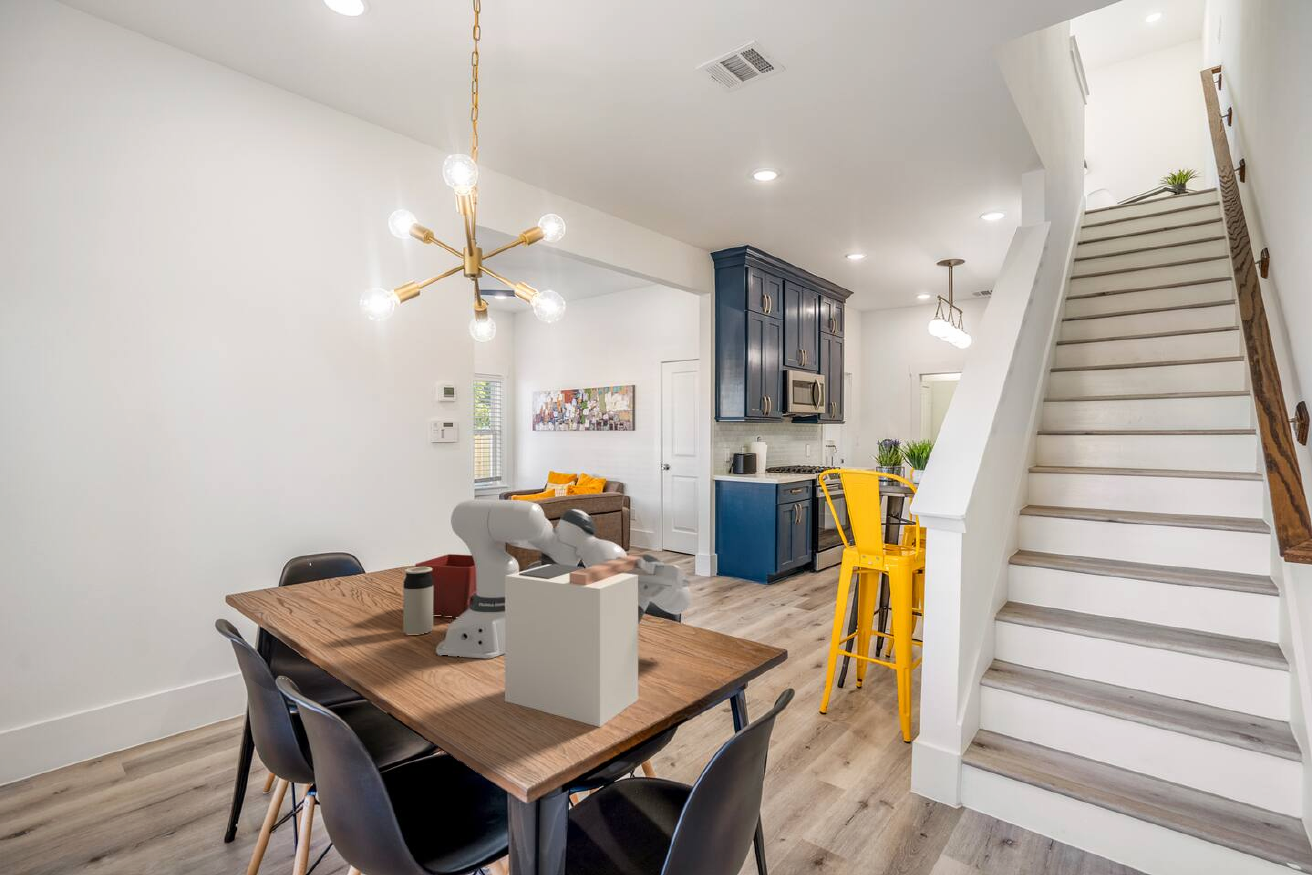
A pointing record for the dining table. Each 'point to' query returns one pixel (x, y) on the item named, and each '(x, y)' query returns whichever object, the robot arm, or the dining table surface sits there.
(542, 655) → the tall white box
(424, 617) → the travel mug
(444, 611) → the plant pot
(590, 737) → the dining table surface
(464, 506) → the robot arm
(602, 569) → the terracotta slat
